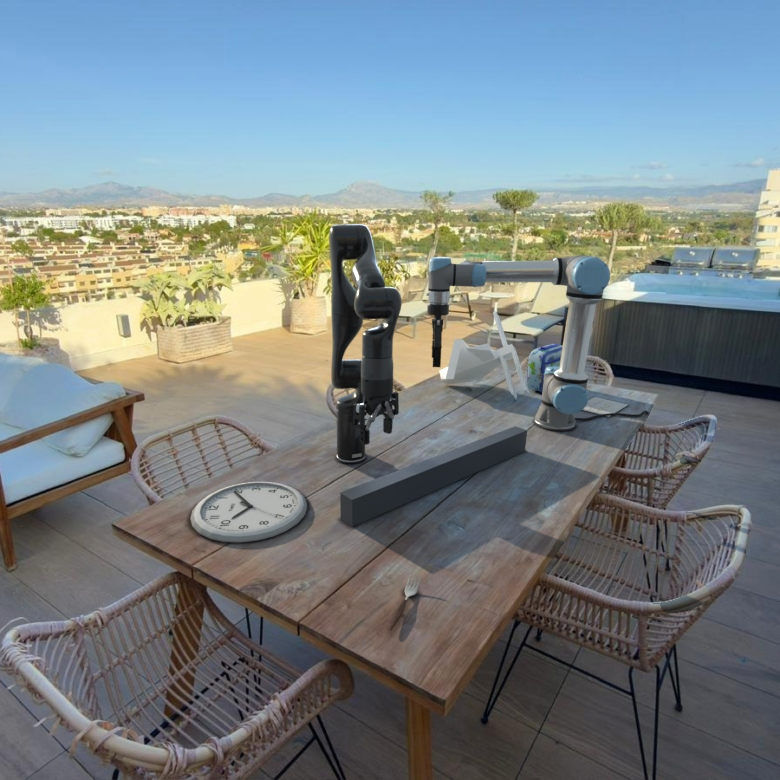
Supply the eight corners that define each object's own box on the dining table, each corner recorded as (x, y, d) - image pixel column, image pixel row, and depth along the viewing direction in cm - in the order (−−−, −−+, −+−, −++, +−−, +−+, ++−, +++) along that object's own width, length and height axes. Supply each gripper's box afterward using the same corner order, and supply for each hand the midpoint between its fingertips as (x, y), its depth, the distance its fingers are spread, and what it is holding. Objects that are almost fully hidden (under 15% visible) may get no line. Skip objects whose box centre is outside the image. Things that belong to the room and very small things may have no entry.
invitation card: (608, 416, 214) (573, 407, 224) (608, 416, 214) (573, 408, 224) (628, 404, 229) (594, 396, 238) (628, 405, 229) (594, 397, 238)
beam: (513, 446, 183) (515, 426, 181) (525, 451, 180) (527, 430, 178) (340, 518, 136) (340, 492, 134) (352, 527, 133) (352, 499, 130)
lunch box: (542, 396, 239) (547, 351, 232) (522, 391, 246) (526, 347, 240) (570, 385, 256) (575, 343, 250) (550, 380, 263) (554, 339, 257)
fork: (383, 631, 98) (383, 622, 98) (409, 580, 113) (410, 572, 112) (396, 635, 98) (396, 626, 97) (421, 583, 112) (421, 575, 111)
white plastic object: (461, 429, 252) (437, 405, 227) (444, 352, 274) (420, 323, 250) (535, 404, 240) (518, 377, 215) (510, 326, 262) (492, 293, 237)
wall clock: (302, 534, 126) (174, 538, 123) (303, 540, 126) (175, 544, 124) (310, 477, 154) (206, 479, 152) (310, 482, 155) (206, 484, 152)
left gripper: (383, 365, 129) (382, 426, 134) (344, 377, 119) (345, 443, 124) (408, 370, 125) (406, 433, 130) (369, 384, 114) (369, 451, 119)
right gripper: (427, 298, 194) (425, 353, 200) (428, 308, 170) (425, 370, 177) (447, 298, 194) (444, 354, 200) (451, 308, 170) (448, 371, 176)
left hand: (376, 438), depth 127 cm, fingers open, 8 cm apart
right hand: (435, 362), depth 188 cm, fingers open, 13 cm apart
